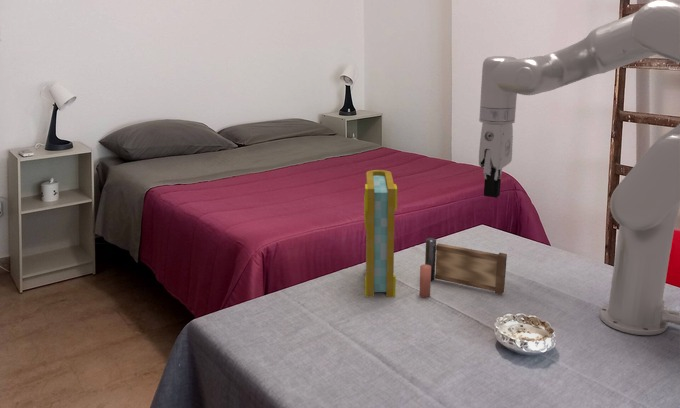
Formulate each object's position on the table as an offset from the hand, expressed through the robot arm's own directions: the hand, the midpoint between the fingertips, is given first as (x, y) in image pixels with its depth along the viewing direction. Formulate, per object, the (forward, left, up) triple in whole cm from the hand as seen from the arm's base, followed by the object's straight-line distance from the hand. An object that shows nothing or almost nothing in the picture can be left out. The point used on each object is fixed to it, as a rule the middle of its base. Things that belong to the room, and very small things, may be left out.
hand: (491, 195), depth 139 cm
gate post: (+12, +6, -21) cm, 25 cm away
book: (+22, +13, -21) cm, 33 cm away
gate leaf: (+2, +6, -20) cm, 21 cm away
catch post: (+9, +15, -21) cm, 27 cm away
